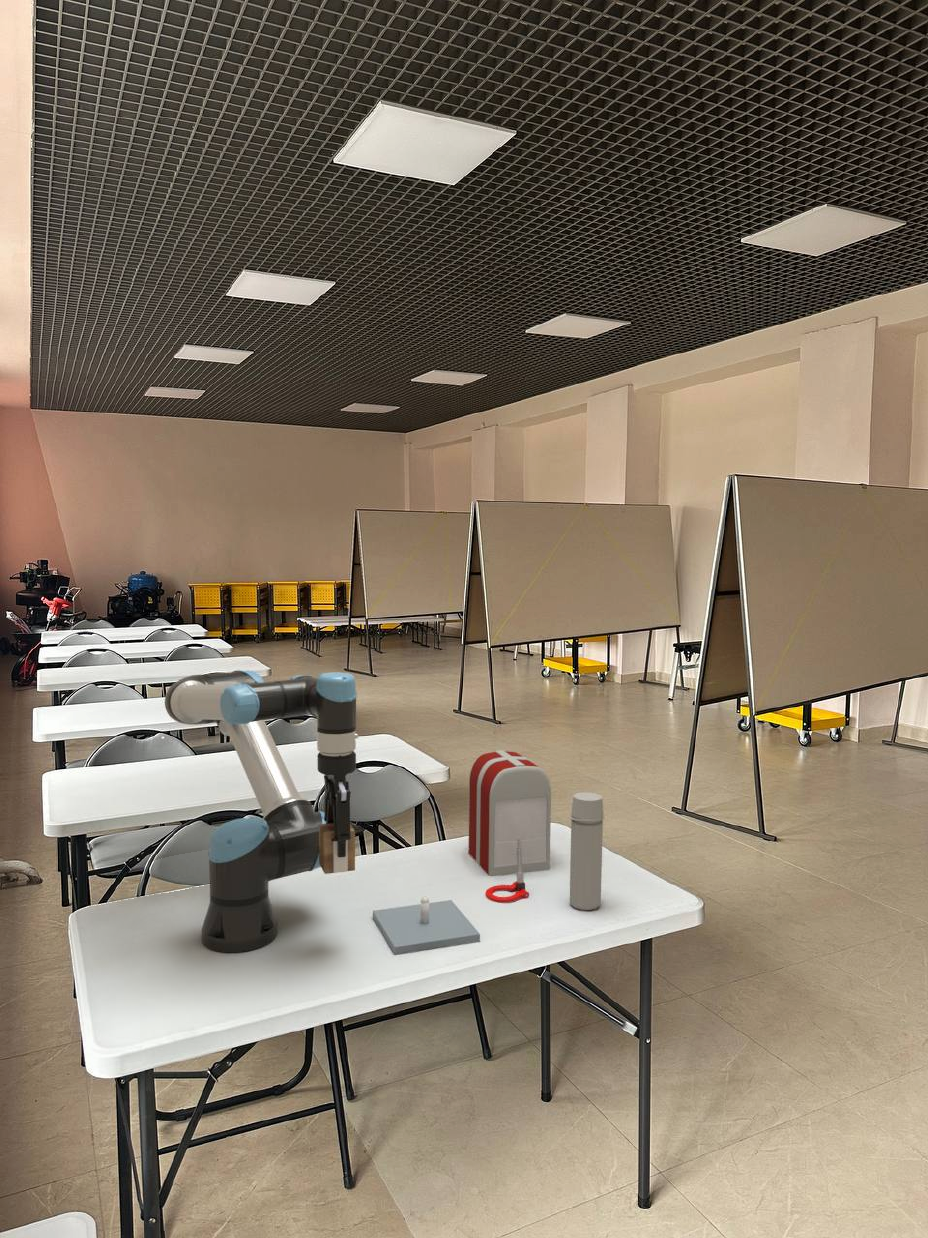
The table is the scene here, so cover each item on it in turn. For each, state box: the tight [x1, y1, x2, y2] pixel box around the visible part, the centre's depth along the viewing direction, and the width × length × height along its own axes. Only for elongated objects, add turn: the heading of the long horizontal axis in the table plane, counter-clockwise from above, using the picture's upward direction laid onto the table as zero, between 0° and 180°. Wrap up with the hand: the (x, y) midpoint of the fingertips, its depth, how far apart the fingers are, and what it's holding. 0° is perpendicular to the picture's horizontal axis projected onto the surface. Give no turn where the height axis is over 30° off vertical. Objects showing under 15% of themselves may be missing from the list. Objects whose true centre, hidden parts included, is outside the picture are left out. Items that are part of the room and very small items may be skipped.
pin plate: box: [372, 896, 481, 955], centre depth 184 cm, size 18×18×7 cm
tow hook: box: [485, 839, 530, 904], centre depth 202 cm, size 8×13×9 cm
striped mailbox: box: [467, 749, 552, 877], centre depth 223 cm, size 16×18×27 cm
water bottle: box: [568, 791, 605, 911], centre depth 197 cm, size 9×8×25 cm
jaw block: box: [319, 823, 356, 875], centre depth 174 cm, size 6×6×8 cm
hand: (337, 865), depth 174 cm, fingers closed on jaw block, 6 cm apart
